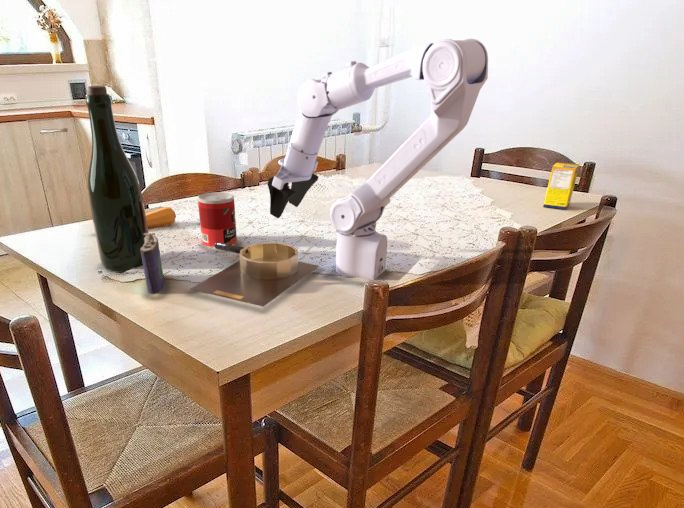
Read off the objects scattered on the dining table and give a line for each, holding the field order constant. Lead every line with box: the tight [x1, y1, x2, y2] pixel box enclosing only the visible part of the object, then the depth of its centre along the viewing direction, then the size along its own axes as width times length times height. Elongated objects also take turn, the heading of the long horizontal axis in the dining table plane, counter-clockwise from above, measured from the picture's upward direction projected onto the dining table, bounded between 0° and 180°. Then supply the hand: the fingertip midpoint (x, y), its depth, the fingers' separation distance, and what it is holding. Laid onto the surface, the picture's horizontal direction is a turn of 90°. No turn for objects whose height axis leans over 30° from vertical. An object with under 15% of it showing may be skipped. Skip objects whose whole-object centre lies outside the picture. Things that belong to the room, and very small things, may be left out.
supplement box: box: [543, 162, 580, 211], centre depth 144 cm, size 6×6×11 cm
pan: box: [214, 242, 299, 280], centre depth 106 cm, size 19×11×4 cm, turn 61°
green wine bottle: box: [85, 85, 150, 273], centre depth 102 cm, size 10×10×33 cm
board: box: [189, 260, 320, 307], centre depth 102 cm, size 16×22×1 cm
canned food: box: [197, 191, 238, 248], centre depth 118 cm, size 8×8×11 cm
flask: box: [140, 232, 165, 299], centre depth 97 cm, size 9×3×11 cm, turn 8°
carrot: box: [145, 206, 177, 229], centre depth 131 cm, size 20×4×4 cm, turn 119°
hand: (284, 209), depth 109 cm, fingers open, 7 cm apart
